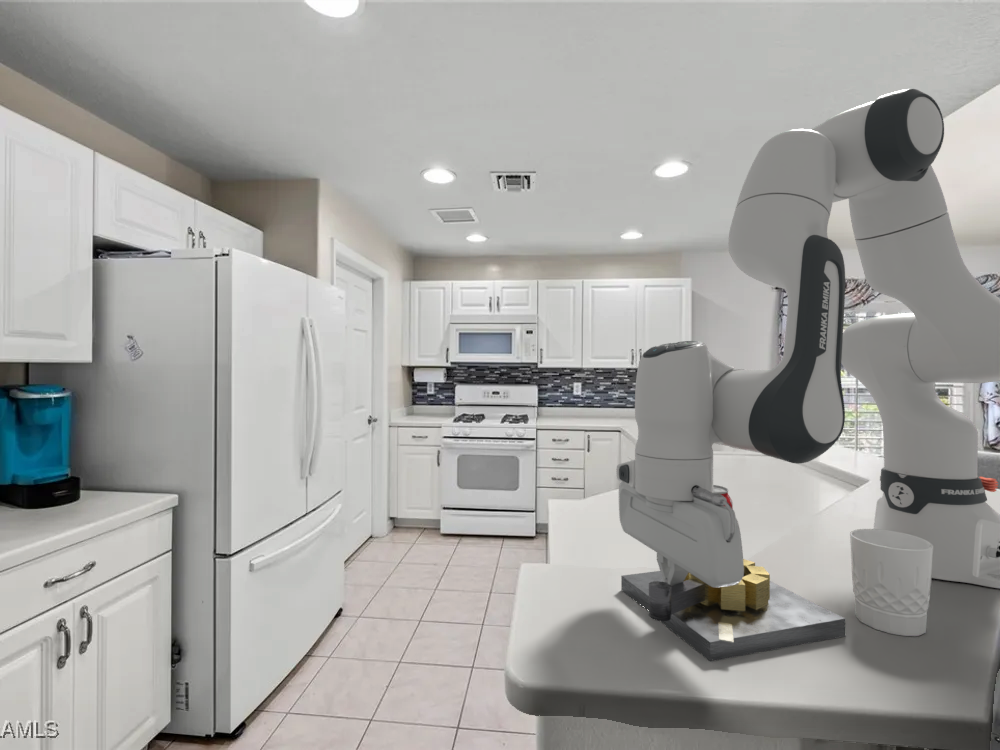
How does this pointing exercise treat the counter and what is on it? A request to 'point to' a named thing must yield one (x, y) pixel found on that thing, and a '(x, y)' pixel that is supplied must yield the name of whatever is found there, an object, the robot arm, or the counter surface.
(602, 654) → the counter surface
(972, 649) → the counter surface
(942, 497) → the robot arm
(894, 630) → the white cup
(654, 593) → the geared lever handle
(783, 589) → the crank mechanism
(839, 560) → the counter surface
